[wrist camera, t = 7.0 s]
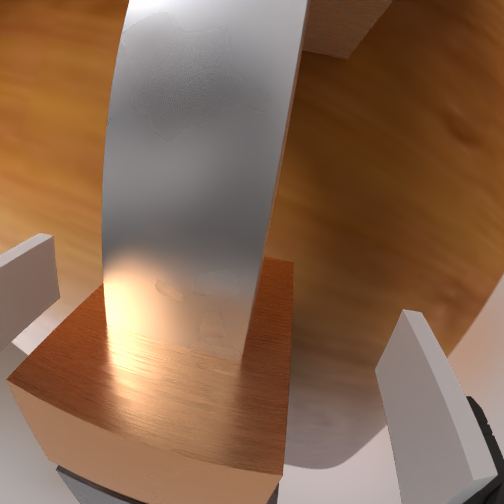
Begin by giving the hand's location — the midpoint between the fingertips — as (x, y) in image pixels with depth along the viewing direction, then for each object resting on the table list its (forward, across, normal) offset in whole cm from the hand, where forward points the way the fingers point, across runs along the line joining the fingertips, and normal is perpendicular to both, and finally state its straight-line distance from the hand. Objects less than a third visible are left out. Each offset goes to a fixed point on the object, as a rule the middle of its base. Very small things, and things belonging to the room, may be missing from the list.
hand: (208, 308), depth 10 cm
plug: (+2, 0, +3) cm, 3 cm away
